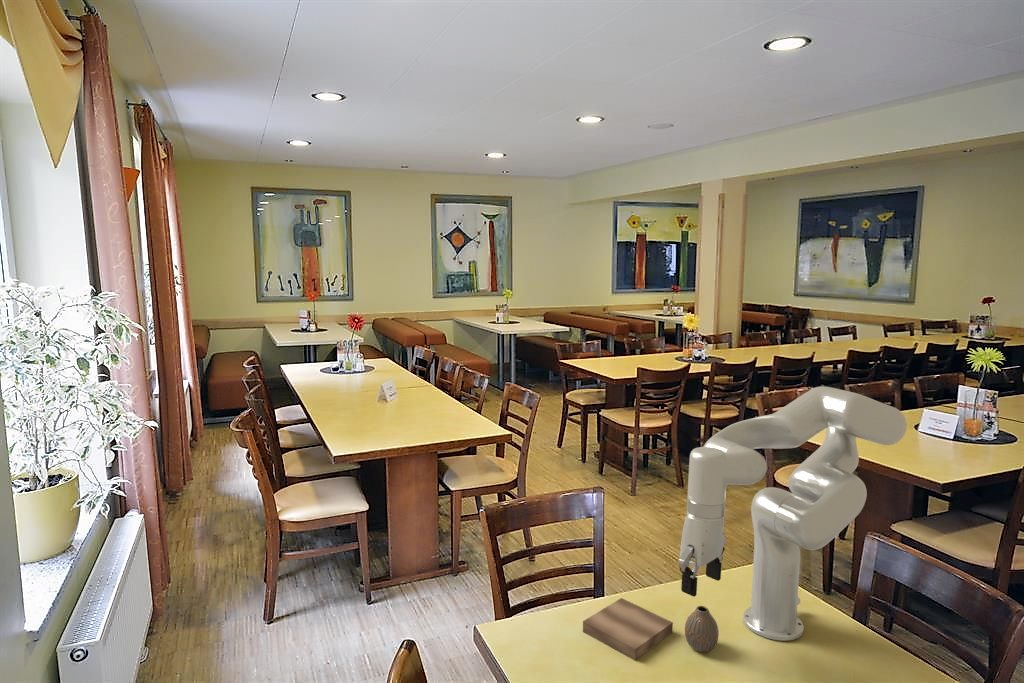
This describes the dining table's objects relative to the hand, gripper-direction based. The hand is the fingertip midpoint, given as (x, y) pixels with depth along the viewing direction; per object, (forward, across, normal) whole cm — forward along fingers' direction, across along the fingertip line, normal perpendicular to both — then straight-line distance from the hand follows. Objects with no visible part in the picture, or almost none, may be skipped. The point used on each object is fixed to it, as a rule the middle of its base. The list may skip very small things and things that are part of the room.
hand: (701, 585), depth 133 cm
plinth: (+14, +6, -14) cm, 21 cm away
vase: (+14, -1, 0) cm, 14 cm away
